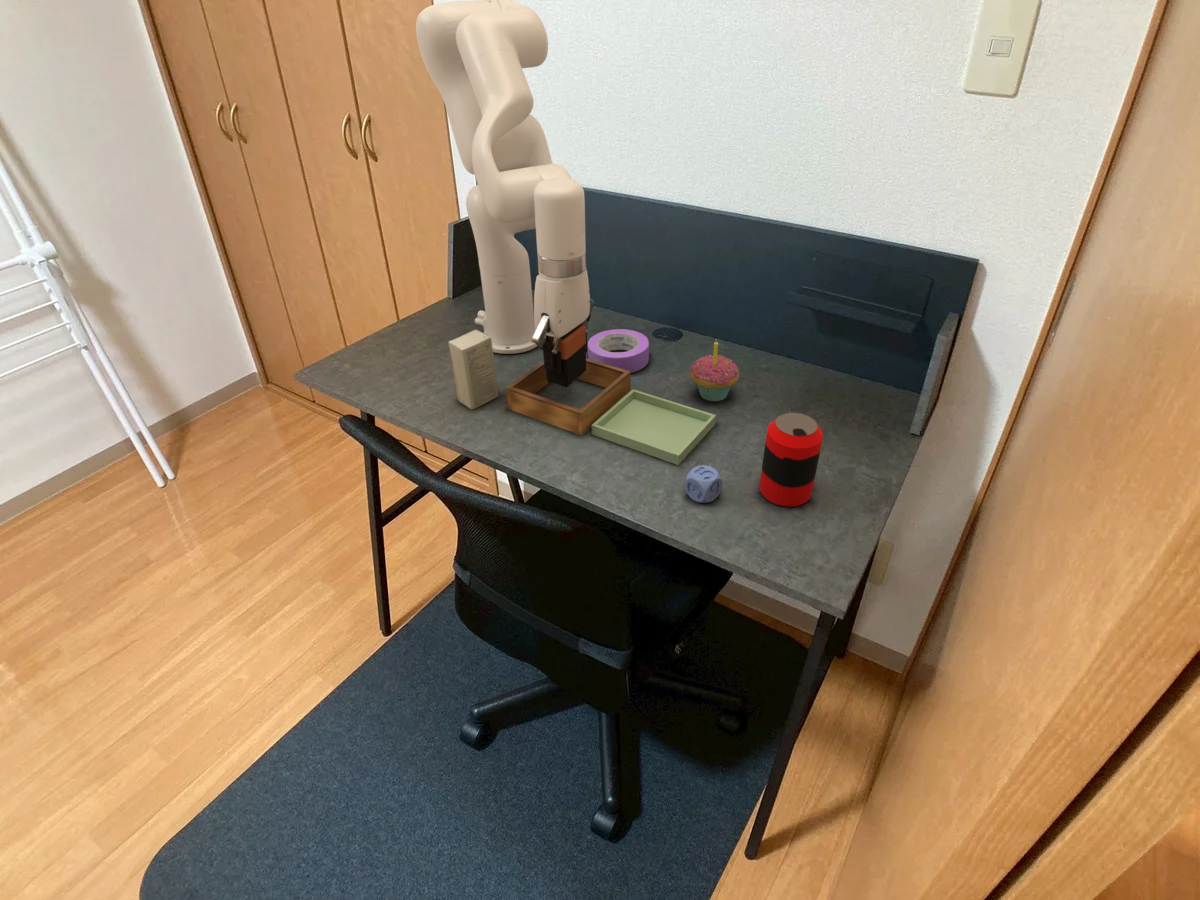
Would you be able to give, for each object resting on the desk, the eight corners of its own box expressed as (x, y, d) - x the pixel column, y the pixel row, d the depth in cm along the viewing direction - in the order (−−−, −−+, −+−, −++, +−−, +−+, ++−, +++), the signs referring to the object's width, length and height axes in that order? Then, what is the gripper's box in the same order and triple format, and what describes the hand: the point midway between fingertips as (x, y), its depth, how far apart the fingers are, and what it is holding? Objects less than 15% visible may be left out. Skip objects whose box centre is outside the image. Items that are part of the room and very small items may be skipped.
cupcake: (735, 409, 124) (741, 347, 117) (686, 404, 126) (689, 343, 119) (737, 383, 131) (744, 324, 124) (691, 380, 133) (694, 320, 126)
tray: (591, 434, 119) (591, 425, 118) (632, 398, 128) (632, 388, 127) (678, 465, 112) (678, 455, 111) (715, 424, 121) (716, 415, 120)
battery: (545, 382, 124) (542, 330, 118) (566, 364, 129) (564, 313, 123) (566, 389, 123) (564, 337, 116) (587, 370, 127) (586, 320, 121)
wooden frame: (508, 409, 126) (505, 387, 123) (560, 371, 137) (558, 349, 134) (582, 436, 119) (581, 413, 116) (630, 393, 130) (630, 371, 127)
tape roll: (576, 365, 138) (575, 347, 136) (609, 340, 146) (609, 323, 144) (628, 381, 133) (628, 363, 131) (659, 355, 141) (660, 337, 138)
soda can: (764, 508, 103) (774, 440, 96) (754, 475, 110) (763, 409, 102) (817, 507, 103) (831, 439, 96) (804, 474, 109) (817, 408, 102)
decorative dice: (701, 482, 109) (703, 461, 106) (722, 494, 106) (724, 473, 104) (683, 494, 106) (684, 473, 104) (704, 507, 104) (705, 485, 102)
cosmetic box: (485, 388, 132) (476, 328, 125) (500, 397, 129) (492, 336, 122) (456, 401, 129) (446, 340, 121) (471, 411, 126) (462, 349, 119)
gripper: (573, 239, 120) (576, 334, 131) (508, 277, 109) (517, 377, 120) (611, 249, 117) (611, 345, 128) (548, 288, 105) (554, 390, 116)
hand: (566, 360), depth 124 cm, fingers closed on battery, 7 cm apart
